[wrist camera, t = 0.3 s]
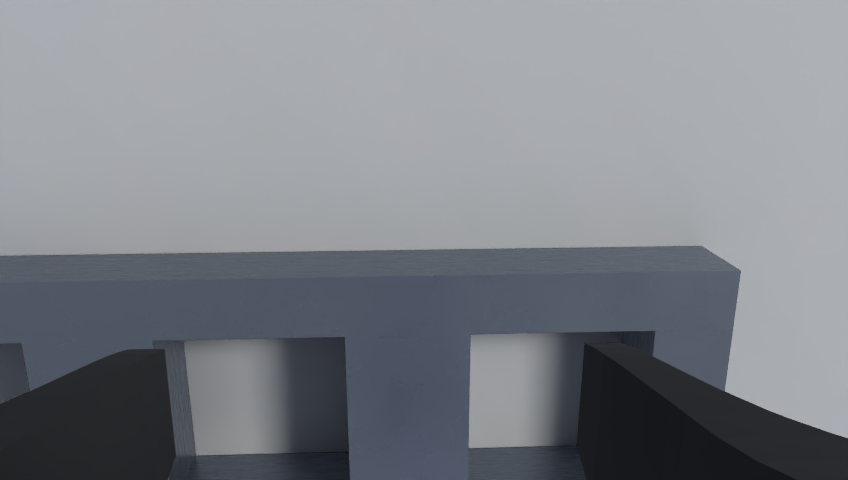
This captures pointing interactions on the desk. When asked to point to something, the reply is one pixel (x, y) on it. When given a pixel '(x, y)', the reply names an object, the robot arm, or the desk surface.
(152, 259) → the grey square hole board
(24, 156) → the desk surface
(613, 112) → the desk surface
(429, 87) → the desk surface
